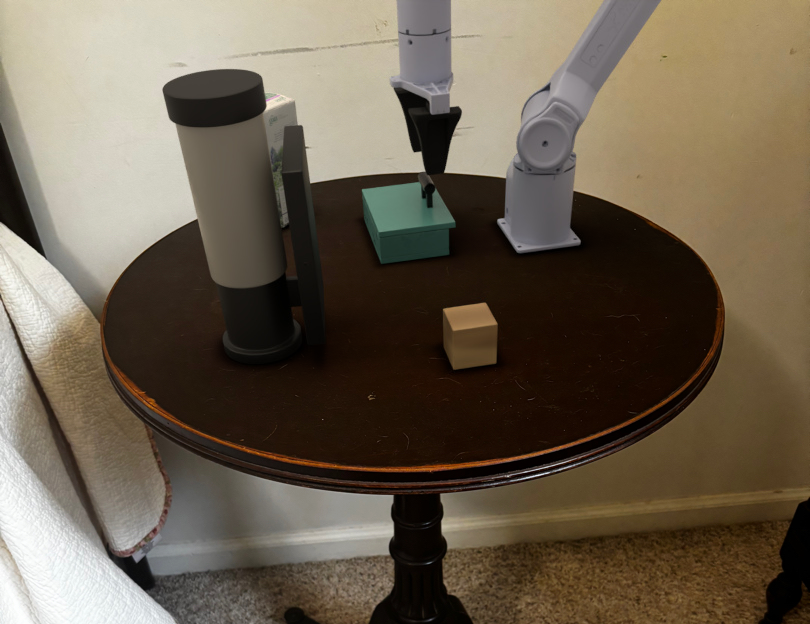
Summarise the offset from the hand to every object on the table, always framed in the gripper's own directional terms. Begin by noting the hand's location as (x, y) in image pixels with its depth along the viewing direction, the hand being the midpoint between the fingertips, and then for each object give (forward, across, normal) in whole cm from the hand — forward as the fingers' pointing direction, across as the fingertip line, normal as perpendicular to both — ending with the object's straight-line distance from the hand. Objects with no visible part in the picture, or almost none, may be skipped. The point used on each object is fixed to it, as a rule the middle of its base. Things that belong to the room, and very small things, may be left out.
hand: (428, 161), depth 95 cm
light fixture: (+9, +21, -21) cm, 31 cm away
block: (+9, +29, -2) cm, 30 cm away
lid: (+6, -1, -3) cm, 6 cm away
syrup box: (+9, -11, -18) cm, 23 cm away
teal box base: (+9, -1, -3) cm, 9 cm away
